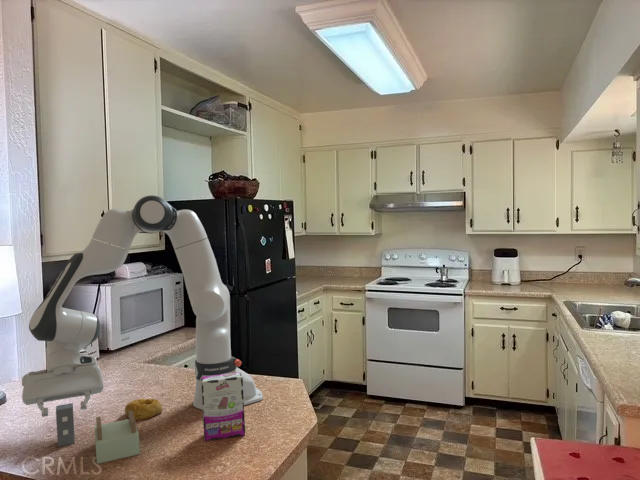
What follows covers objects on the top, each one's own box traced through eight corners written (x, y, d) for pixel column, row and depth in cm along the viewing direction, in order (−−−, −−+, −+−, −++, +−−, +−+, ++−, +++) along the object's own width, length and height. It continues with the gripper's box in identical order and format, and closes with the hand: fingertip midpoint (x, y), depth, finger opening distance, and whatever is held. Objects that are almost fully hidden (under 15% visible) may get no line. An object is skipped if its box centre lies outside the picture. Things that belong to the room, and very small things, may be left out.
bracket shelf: (134, 435, 134) (133, 407, 134) (139, 454, 124) (138, 423, 123) (95, 444, 130) (93, 414, 129) (96, 463, 119) (95, 432, 119)
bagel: (161, 418, 146) (160, 403, 145) (122, 423, 143) (121, 407, 143) (164, 406, 155) (163, 392, 155) (128, 411, 153) (127, 396, 153)
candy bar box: (243, 428, 137) (241, 371, 137) (245, 435, 133) (243, 376, 132) (202, 434, 134) (200, 375, 133) (203, 441, 129) (201, 381, 129)
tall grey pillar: (74, 438, 134) (72, 403, 133) (74, 443, 130) (72, 407, 130) (58, 441, 132) (56, 405, 131) (57, 447, 129) (55, 410, 128)
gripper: (21, 367, 134) (18, 414, 126) (101, 356, 143) (104, 399, 135) (23, 378, 138) (21, 425, 130) (101, 367, 147) (104, 409, 139)
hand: (64, 412), depth 132 cm, fingers open, 8 cm apart
